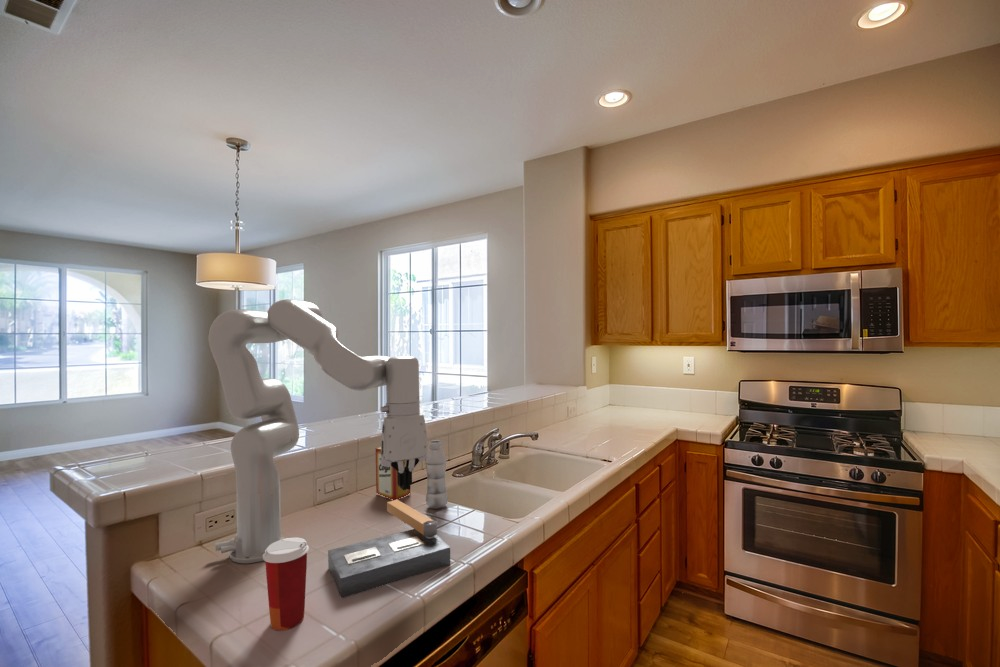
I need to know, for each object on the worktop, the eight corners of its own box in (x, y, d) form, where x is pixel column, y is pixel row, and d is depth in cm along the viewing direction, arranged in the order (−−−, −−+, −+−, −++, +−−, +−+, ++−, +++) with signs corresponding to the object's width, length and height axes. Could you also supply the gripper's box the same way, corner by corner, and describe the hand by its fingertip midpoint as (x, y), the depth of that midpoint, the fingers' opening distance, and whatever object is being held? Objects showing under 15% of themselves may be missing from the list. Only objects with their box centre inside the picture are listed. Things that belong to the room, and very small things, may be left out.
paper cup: (316, 607, 87) (315, 535, 87) (300, 633, 79) (298, 554, 79) (275, 609, 87) (274, 536, 87) (255, 635, 79) (253, 556, 79)
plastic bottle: (444, 512, 133) (442, 444, 133) (422, 510, 134) (421, 444, 134) (450, 503, 139) (449, 439, 139) (430, 502, 141) (429, 439, 141)
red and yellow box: (410, 495, 148) (409, 446, 148) (394, 501, 143) (393, 451, 143) (392, 489, 154) (391, 443, 154) (376, 495, 149) (375, 447, 149)
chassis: (341, 598, 90) (340, 574, 90) (328, 568, 102) (328, 547, 102) (450, 564, 102) (449, 544, 102) (427, 541, 114) (427, 522, 114)
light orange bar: (439, 533, 107) (439, 523, 107) (427, 538, 105) (427, 527, 105) (397, 508, 123) (397, 499, 123) (386, 511, 121) (386, 502, 121)
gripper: (375, 415, 97) (377, 499, 97) (439, 408, 105) (441, 486, 105) (366, 410, 104) (368, 489, 103) (427, 404, 111) (429, 478, 111)
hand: (404, 488), depth 104 cm, fingers closed
